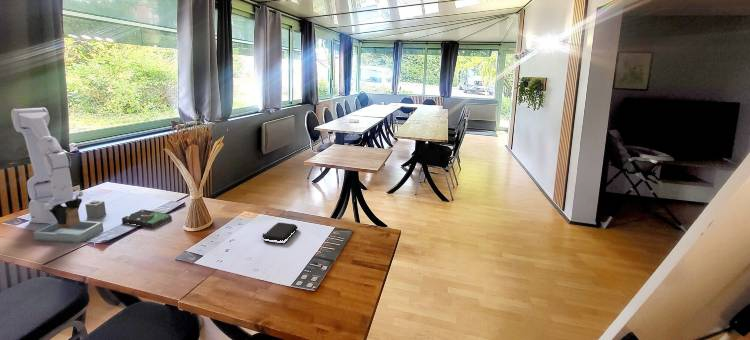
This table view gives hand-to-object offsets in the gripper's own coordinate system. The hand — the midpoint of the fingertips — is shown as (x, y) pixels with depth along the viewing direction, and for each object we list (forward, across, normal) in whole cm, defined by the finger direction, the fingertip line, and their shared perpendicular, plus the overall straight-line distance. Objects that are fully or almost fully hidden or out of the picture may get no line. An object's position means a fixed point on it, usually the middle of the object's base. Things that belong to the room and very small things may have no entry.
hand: (68, 220), depth 141 cm
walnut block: (+2, 0, 0) cm, 2 cm away
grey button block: (+6, +17, +3) cm, 18 cm away
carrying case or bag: (+6, +12, -75) cm, 76 cm away
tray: (+6, 0, 0) cm, 6 cm away
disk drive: (+6, +16, -19) cm, 26 cm away
